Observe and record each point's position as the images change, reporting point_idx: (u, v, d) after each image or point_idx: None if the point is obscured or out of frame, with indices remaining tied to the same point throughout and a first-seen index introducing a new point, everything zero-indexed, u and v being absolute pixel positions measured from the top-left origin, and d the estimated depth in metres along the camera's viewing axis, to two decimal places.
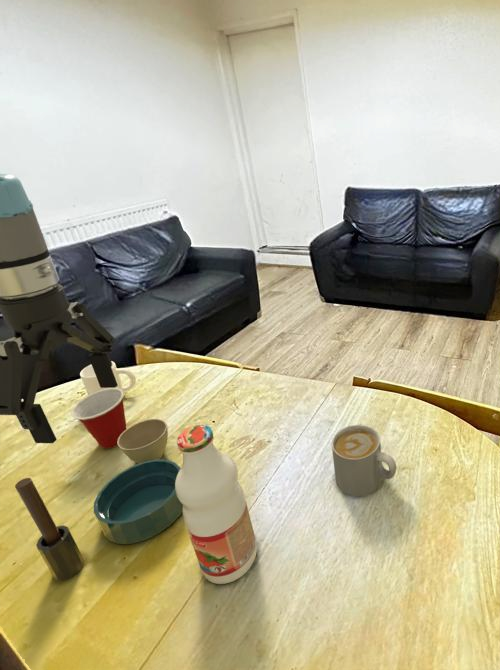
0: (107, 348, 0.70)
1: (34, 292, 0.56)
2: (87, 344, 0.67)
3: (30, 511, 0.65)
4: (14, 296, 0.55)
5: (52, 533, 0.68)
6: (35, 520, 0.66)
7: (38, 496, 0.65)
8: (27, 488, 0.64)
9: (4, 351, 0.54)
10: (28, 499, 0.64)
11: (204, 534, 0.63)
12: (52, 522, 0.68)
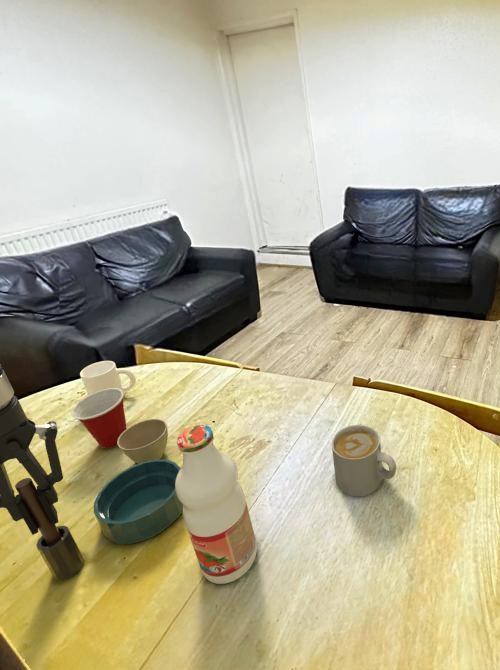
0: (46, 488, 0.65)
1: None
2: None
3: (30, 511, 0.65)
4: None
5: (52, 533, 0.68)
6: (35, 520, 0.66)
7: None
8: (27, 488, 0.64)
9: None
10: (28, 499, 0.64)
11: (204, 534, 0.63)
12: None
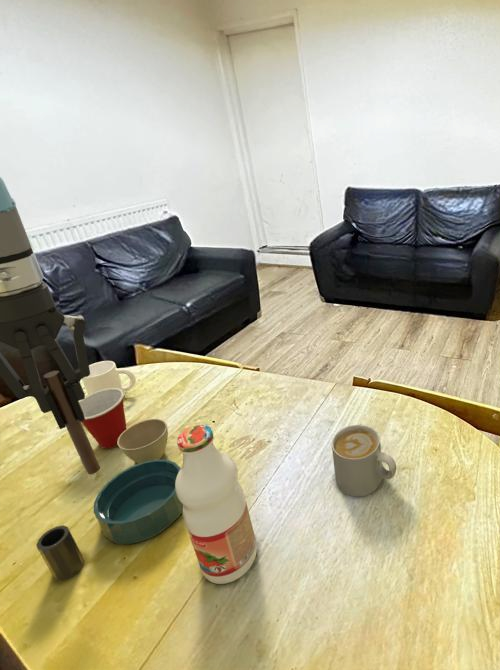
0: (73, 382, 0.65)
1: None
2: (57, 363, 0.63)
3: (58, 404, 0.65)
4: None
5: (79, 431, 0.68)
6: (62, 415, 0.66)
7: (65, 390, 0.66)
8: (55, 379, 0.64)
9: None
10: (55, 391, 0.64)
11: (204, 534, 0.63)
12: None
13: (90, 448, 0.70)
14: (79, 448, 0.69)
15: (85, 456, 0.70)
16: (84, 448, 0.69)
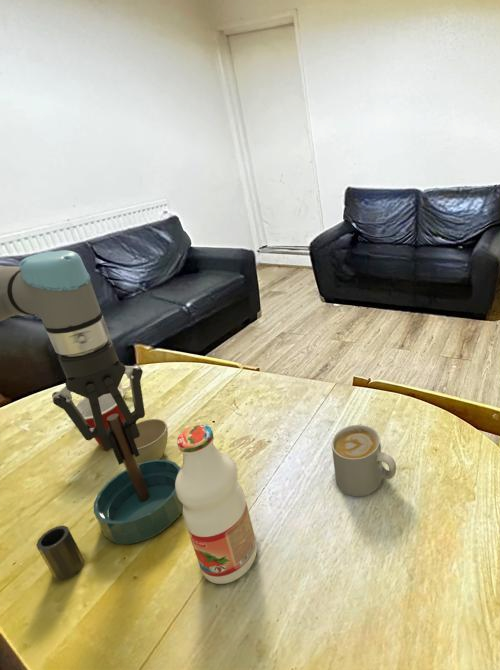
0: (131, 423, 0.74)
1: (71, 354, 0.64)
2: None
3: (117, 443, 0.74)
4: (60, 353, 0.64)
5: (134, 465, 0.77)
6: (121, 452, 0.75)
7: (124, 430, 0.75)
8: (116, 422, 0.73)
9: None
10: (116, 431, 0.73)
11: (204, 534, 0.63)
12: (134, 455, 0.77)
13: (142, 479, 0.79)
14: (133, 480, 0.78)
15: (138, 487, 0.79)
16: (138, 479, 0.78)
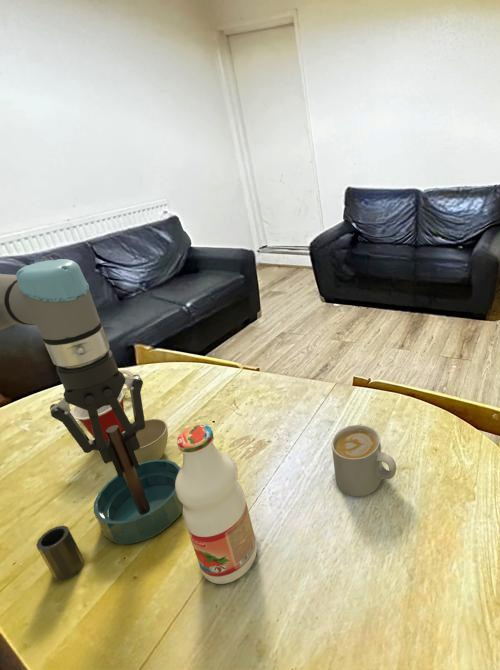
0: (131, 435, 0.72)
1: (69, 366, 0.62)
2: (118, 419, 0.71)
3: (117, 455, 0.72)
4: (58, 365, 0.63)
5: (134, 477, 0.75)
6: (120, 464, 0.73)
7: (124, 442, 0.73)
8: (116, 434, 0.71)
9: None
10: (116, 444, 0.71)
11: (204, 534, 0.63)
12: (134, 467, 0.75)
13: (142, 491, 0.77)
14: (133, 492, 0.76)
15: (138, 499, 0.77)
16: (138, 492, 0.76)
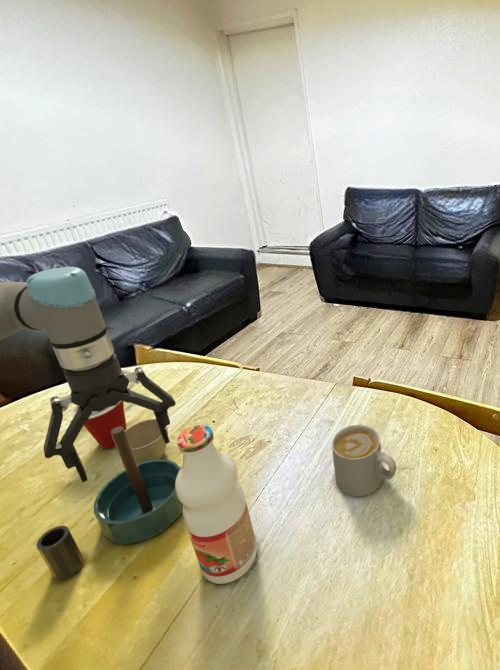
0: (163, 411, 0.77)
1: (76, 369, 0.65)
2: None
3: (121, 455, 0.75)
4: None
5: (137, 476, 0.78)
6: (125, 464, 0.76)
7: (128, 442, 0.76)
8: (121, 435, 0.74)
9: None
10: (120, 444, 0.74)
11: (204, 534, 0.63)
12: (137, 467, 0.78)
13: (145, 490, 0.80)
14: (137, 491, 0.79)
15: (141, 497, 0.80)
16: (141, 490, 0.79)
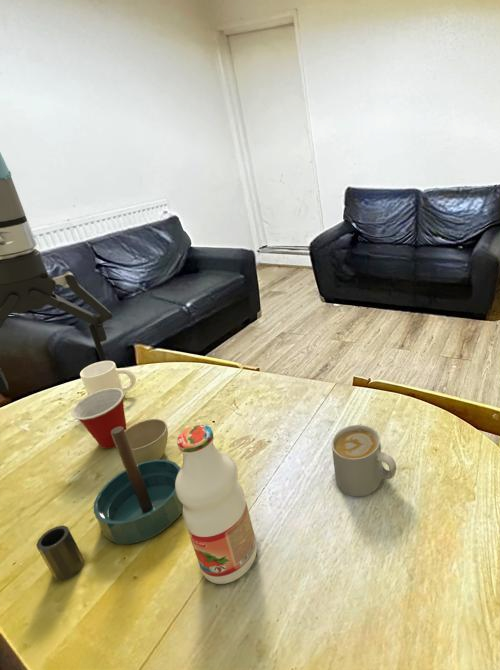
0: (97, 323, 0.71)
1: None
2: (72, 314, 0.69)
3: (121, 455, 0.75)
4: None
5: (137, 476, 0.78)
6: (125, 464, 0.76)
7: (128, 442, 0.76)
8: (121, 435, 0.74)
9: None
10: (120, 444, 0.74)
11: (204, 534, 0.63)
12: (137, 467, 0.78)
13: (145, 490, 0.80)
14: (137, 491, 0.79)
15: (141, 497, 0.80)
16: (141, 490, 0.79)
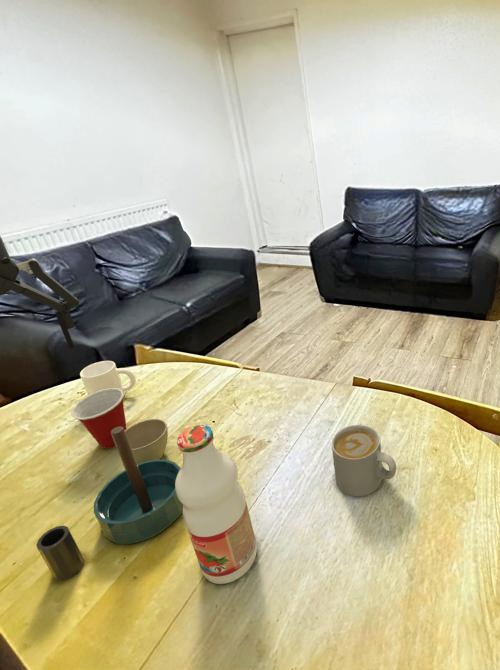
0: (63, 310, 0.71)
1: None
2: None
3: (121, 455, 0.75)
4: None
5: (137, 476, 0.78)
6: (125, 464, 0.76)
7: (128, 442, 0.76)
8: (121, 435, 0.74)
9: None
10: (120, 444, 0.74)
11: (204, 534, 0.63)
12: (137, 467, 0.78)
13: (145, 490, 0.80)
14: (137, 491, 0.79)
15: (141, 497, 0.80)
16: (141, 490, 0.79)
